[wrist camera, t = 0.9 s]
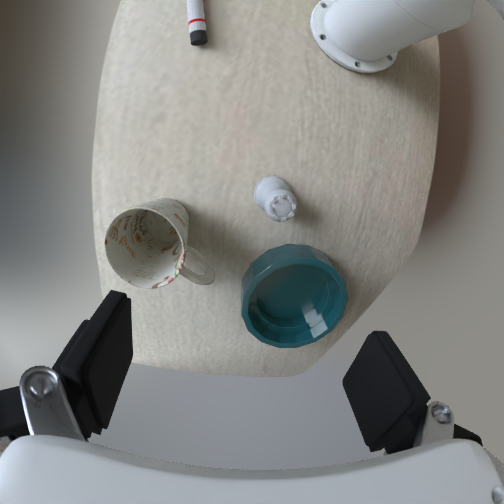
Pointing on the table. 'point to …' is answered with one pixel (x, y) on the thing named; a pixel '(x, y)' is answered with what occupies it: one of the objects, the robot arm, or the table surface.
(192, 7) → the marker
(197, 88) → the table surface
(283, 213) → the rook chess piece
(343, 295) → the bowl
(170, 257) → the mug
